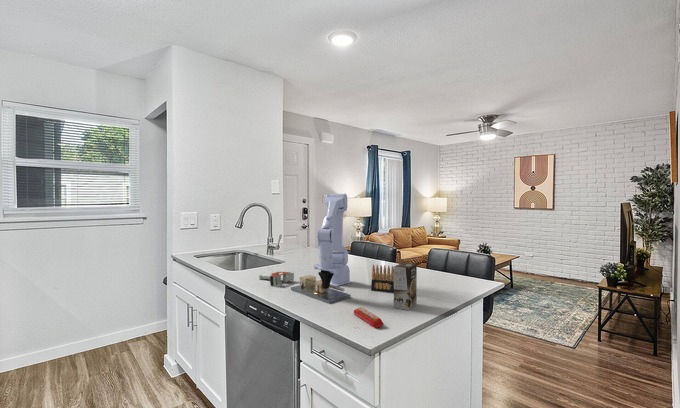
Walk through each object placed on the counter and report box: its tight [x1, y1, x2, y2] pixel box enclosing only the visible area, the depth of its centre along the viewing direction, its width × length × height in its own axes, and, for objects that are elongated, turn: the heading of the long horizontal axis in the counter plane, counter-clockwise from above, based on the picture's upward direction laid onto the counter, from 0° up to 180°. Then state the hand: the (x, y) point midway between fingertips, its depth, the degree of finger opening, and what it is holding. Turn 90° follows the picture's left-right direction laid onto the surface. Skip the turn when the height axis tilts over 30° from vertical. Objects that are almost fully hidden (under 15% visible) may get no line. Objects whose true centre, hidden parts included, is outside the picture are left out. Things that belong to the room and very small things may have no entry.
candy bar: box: [353, 306, 385, 329], centre depth 116 cm, size 16×4×3 cm, turn 27°
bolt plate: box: [290, 284, 352, 304], centre depth 148 cm, size 12×27×1 cm, turn 42°
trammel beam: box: [299, 274, 346, 292], centre depth 149 cm, size 7×24×4 cm, turn 42°
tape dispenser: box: [258, 271, 295, 288], centre depth 169 cm, size 18×5×20 cm
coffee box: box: [393, 262, 418, 311], centre depth 131 cm, size 9×6×16 cm
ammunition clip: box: [370, 264, 394, 294], centre depth 151 cm, size 11×2×12 cm, turn 68°
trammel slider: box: [315, 279, 328, 293], centre depth 147 cm, size 4×4×4 cm
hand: (326, 288), depth 144 cm, fingers closed
